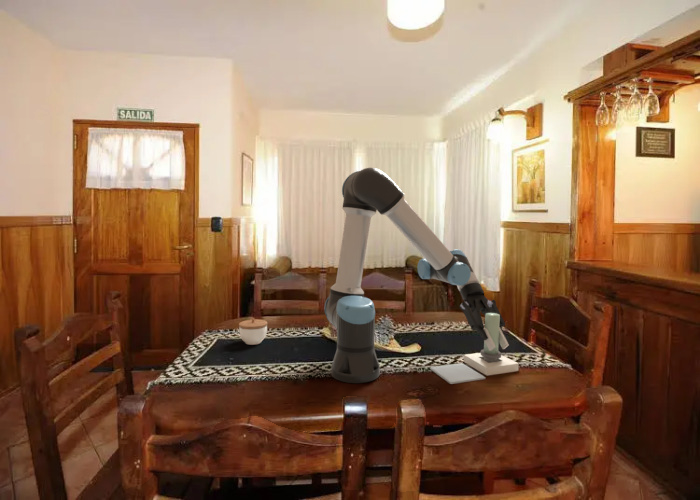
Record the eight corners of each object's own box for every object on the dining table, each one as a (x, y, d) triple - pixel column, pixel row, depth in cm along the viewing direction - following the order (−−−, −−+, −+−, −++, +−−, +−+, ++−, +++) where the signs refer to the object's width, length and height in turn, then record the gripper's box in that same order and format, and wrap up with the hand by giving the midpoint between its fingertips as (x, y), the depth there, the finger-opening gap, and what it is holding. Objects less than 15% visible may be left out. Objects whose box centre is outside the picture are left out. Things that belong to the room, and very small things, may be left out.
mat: (450, 384, 113) (450, 382, 113) (430, 369, 124) (430, 367, 124) (485, 379, 117) (485, 377, 117) (462, 364, 128) (462, 363, 128)
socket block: (486, 375, 119) (486, 367, 119) (463, 362, 131) (463, 354, 130) (518, 371, 123) (518, 363, 123) (493, 358, 134) (493, 351, 134)
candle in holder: (488, 367, 123) (490, 317, 121) (476, 360, 129) (478, 312, 128) (505, 364, 125) (507, 316, 123) (492, 358, 131) (494, 311, 130)
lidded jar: (271, 338, 156) (270, 315, 155) (262, 347, 145) (262, 322, 144) (245, 337, 157) (244, 314, 156) (234, 346, 146) (234, 321, 145)
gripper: (485, 292, 142) (515, 350, 128) (443, 294, 137) (470, 356, 123) (495, 280, 137) (527, 339, 123) (452, 282, 132) (481, 344, 117)
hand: (499, 347), depth 123 cm, fingers closed on candle in holder, 4 cm apart
